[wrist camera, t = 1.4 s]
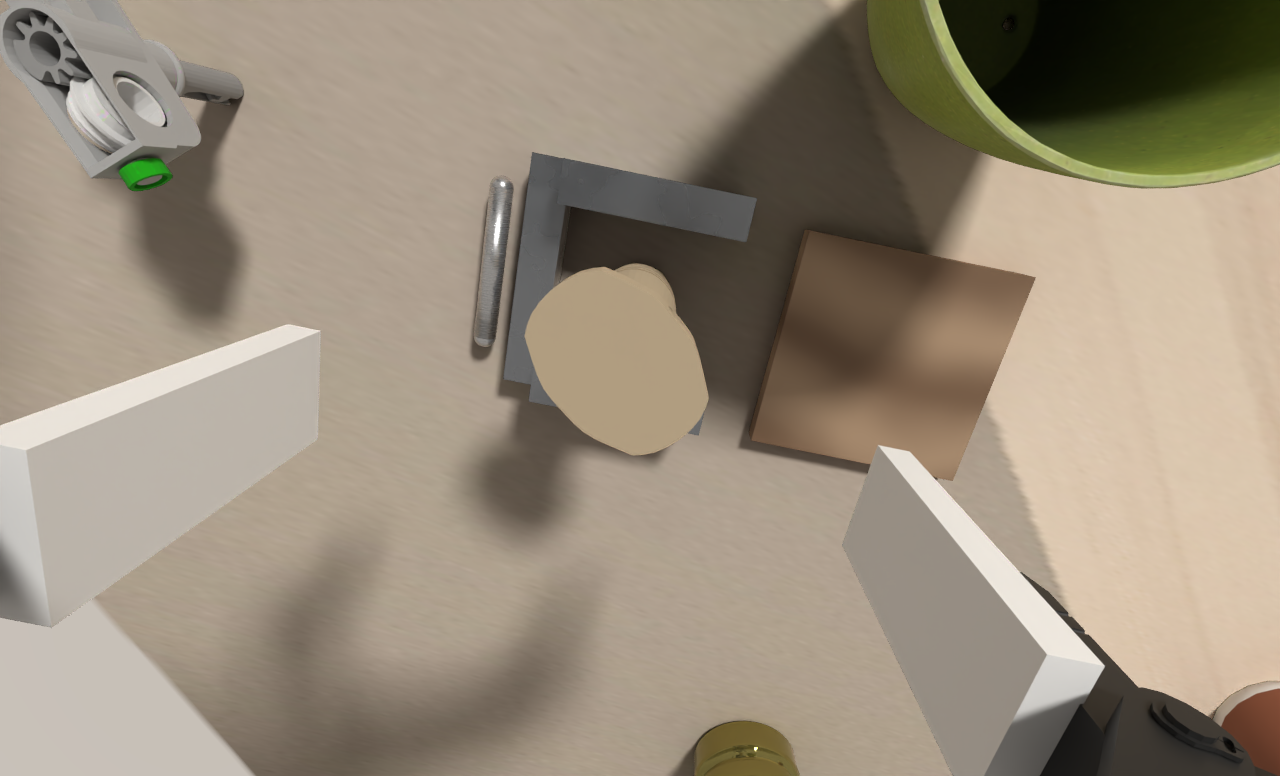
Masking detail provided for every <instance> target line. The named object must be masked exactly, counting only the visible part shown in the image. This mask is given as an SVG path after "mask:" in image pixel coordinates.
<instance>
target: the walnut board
mask: <svg viewBox="0 0 1280 776" xmlns="http://www.w3.org/2000/svg"><path fill="white" fill-rule="evenodd" d="M1035 278H1036V277H1032V276H1027V275H1023V274H1019V273H1014V272H1009V271H1004V270H999V269H995V268H990V267H985V266H980V265H975V264H970V263H966V262H961V261H956V260H951V259H946V258H941V257H936V256H932V255H927V254H922V253H917V252H912V251H907V250H903V249H898V248H893V247H888V246H883V245H878V244H874V243H869V242H864V241H859V240H854V239H849V238H844V237H840V236H835V235H830V234H825V233H820V232H815V231H811V230H806V229H805V231H804V234H803V238H802V242H801V245H800V249H799V253H798V256H797V260H796V263H795V267H794V271H793V274H792V278H791V281H790V285H789V289H788V292H787V296H786V299H785V303H784V307H783V310H782V314H781V318H780V321H779V325H778V328H777V332H776V336H775V339H774V343H773V346H772V350H771V354H770V357H769V361H768V365H767V368H766V372H765V375H764V379H763V383H762V386H761V390H760V393H759V397H758V401H757V404H756V408H755V412H754V415H753V419H752V422H751V426H750V430H749V435H750V438H751V441H756V442H761V443H766V444H771V445H776V446H781V447H786V448H791V449H796V450H801V451H806V452H811V453H816V454H821V455H826V456H831V457H836V458H841V459H846V460H851V461H856V462H861V463H866V464H871V463H872V460H873V457H874V454H875V451H876V449H877V446H878V445H880V446H885V447H890V448H895V449H900V450H905V451H910V452H911V453H912V455H913V456H914V457H915V458H916V459H917V460H918V461H919V462H920V463H921V464H922V466H923V467H924V468H925V469H926V470H927V471H928V472H929V473H930V474H931V475H932V477H936V478H941V479H946V480H951V481H953V479H954V476H955V474H956V471H957V469H958V467H959V464H960V462H961V459H962V457H963V454H964V452H965V449H966V447H967V445H968V442H969V440H970V437H971V435H972V432H973V430H974V427H975V425H976V422H977V420H978V418H979V415H980V413H981V410H982V408H983V405H984V403H985V400H986V398H987V396H988V393H989V391H990V388H991V386H992V383H993V381H994V378H995V376H996V374H997V371H998V369H999V366H1000V364H1001V361H1002V359H1003V356H1004V354H1005V352H1006V349H1007V347H1008V344H1009V342H1010V339H1011V337H1012V334H1013V332H1014V330H1015V327H1016V325H1017V322H1018V320H1019V317H1020V315H1021V312H1022V310H1023V308H1024V305H1025V303H1026V300H1027V298H1028V295H1029V293H1030V290H1031V288H1032V286H1033V283H1034V281H1035Z"/></svg>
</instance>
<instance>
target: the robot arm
mask: <svg viewBox="0 0 1280 776" xmlns="http://www.w3.org/2000/svg"><path fill="white" fill-rule="evenodd" d="M320 343H321V331H319V330H314V329H309V328H304V327H299V326H294V325H289V324H287V325H284V326H281V327H278V328H275V329H273V330H270V331H267V332H264V333H261V334H258V335H256V336H253V337H250V338H247V339H244V340H241V341H239V342H236V343H233V344H230V345H227V346H224V347H221V348H219V349H216V350H213V351H210V352H207V353H204V354H202V355H199V356H196V357H193V358H190V359H187V360H185V361H182V362H179V363H176V364H173V365H170V366H168V367H165V368H162V369H159V370H156V371H153V372H150V373H148V374H145V375H142V376H139V377H136V378H133V379H131V380H128V381H125V382H122V383H119V384H116V385H114V386H111V387H108V388H105V389H102V390H99V391H96V392H94V393H91V394H88V395H85V396H82V397H79V398H77V399H74V400H71V401H68V402H65V403H62V404H60V405H57V406H54V407H51V408H48V409H45V410H43V411H40V412H37V413H34V414H31V415H28V416H25V417H23V418H20V419H17V420H14V421H11V422H8V423H6V424H3V425H0V618H5V619H10V620H15V621H21V622H26V623H31V624H36V625H41V626H46V627H53V626H55V625H56V624H57V623H59V622H60V621H62V620H63V619H64V618H66V617H67V616H69V615H70V614H71V613H73V612H74V611H76V610H77V609H78V608H80V607H81V606H83V605H84V604H86V603H87V602H88V601H90V600H91V599H93V598H94V597H96V596H97V595H98V594H100V593H101V592H103V591H104V590H105V589H107V588H108V587H110V586H111V585H112V584H114V583H115V582H117V581H118V580H120V579H121V578H122V577H124V576H125V575H127V574H128V573H129V572H131V571H132V570H134V569H135V568H137V567H138V566H139V565H141V564H142V563H144V562H145V561H146V560H148V559H149V558H151V557H152V556H153V555H155V554H156V553H158V552H159V551H161V550H162V549H163V548H165V547H166V546H168V545H169V544H170V543H172V542H173V541H175V540H176V539H177V538H179V537H180V536H182V535H183V534H185V533H186V532H187V531H189V530H190V529H192V528H193V527H194V526H196V525H197V524H199V523H200V522H202V521H203V520H204V519H206V518H207V517H209V516H210V515H211V514H213V513H214V512H216V511H217V510H218V509H220V508H221V507H223V506H224V505H226V504H227V503H228V502H230V501H231V500H233V499H234V498H235V497H237V496H238V495H240V494H241V493H243V492H244V491H245V490H247V489H248V488H250V487H251V486H252V485H254V484H255V483H257V482H258V481H259V480H261V479H262V478H264V477H265V476H267V475H268V474H269V473H271V472H272V471H274V470H275V469H276V468H278V467H279V466H281V465H282V464H283V463H285V462H286V461H288V460H289V459H291V458H292V457H293V456H295V455H296V454H298V453H299V452H300V451H302V450H303V449H305V448H306V447H308V446H309V445H310V444H312V443H313V442H315V441H316V440H317V439H318V414H319V379H320ZM842 546H843V548H844V550H845V552H846V554H847V556H848V559H849V561H850V563H851V565H852V567H853V569H854V571H855V573H856V575H857V577H858V579H859V581H860V584H861V586H862V588H863V590H864V592H865V594H866V596H867V598H868V600H869V602H870V604H871V606H872V609H873V611H874V613H875V615H876V617H877V619H878V621H879V623H880V625H881V627H882V629H883V631H884V634H885V636H886V638H887V640H888V642H889V644H890V646H891V648H892V650H893V652H894V654H895V656H896V659H897V661H898V663H899V665H900V667H901V669H902V671H903V673H904V675H905V677H906V679H907V681H908V683H909V686H910V688H911V690H912V692H913V694H914V696H915V698H916V700H917V702H918V704H919V706H920V708H921V711H922V713H923V715H924V717H925V719H926V721H927V723H928V725H929V727H930V729H931V731H932V733H933V736H934V738H935V740H936V742H937V744H938V746H939V748H940V750H941V752H942V754H943V756H944V758H945V761H946V763H947V765H948V767H949V769H950V771H951V773H952V775H953V776H1278V775H1275V774H1273V773H1270V772H1268V771H1265V770H1263V769H1261V768H1258V767H1256V766H1254V764H1253V762H1252V760H1251V758H1250V756H1249V754H1248V752H1247V751H1246V750H1245V749H1244V748H1243V747H1242V746H1241V745H1240V743H1239V742H1238V741H1237V740H1236V739H1235V738H1234V737H1233V736H1232V735H1231V734H1230V733H1228V732H1227V731H1226V730H1225V729H1223V728H1222V727H1221V726H1220V725H1218V724H1217V723H1216V722H1215V721H1213V720H1212V719H1211V718H1209V717H1208V716H1206V715H1204V714H1203V713H1201V712H1199V711H1198V710H1196V709H1194V708H1193V707H1191V706H1190V705H1188V704H1186V703H1184V702H1182V701H1180V700H1178V699H1175V698H1173V697H1171V696H1169V695H1167V694H1164V693H1162V692H1158V691H1154V690H1151V689H1147V688H1138V687H1137V686H1136V685H1135V684H1134V682H1133V681H1132V680H1131V679H1130V678H1129V677H1128V676H1127V675H1126V674H1125V673H1124V672H1123V671H1122V670H1121V669H1120V668H1119V666H1118V665H1117V664H1116V663H1115V662H1114V661H1113V660H1112V659H1111V658H1110V657H1109V656H1108V655H1107V654H1106V653H1105V652H1104V650H1103V649H1102V648H1101V647H1100V646H1099V645H1098V644H1097V643H1096V642H1095V641H1094V640H1093V639H1092V638H1091V637H1090V636H1089V635H1087V634H1085V633H1084V632H1085V630H1084V629H1083V628H1082V627H1081V626H1080V625H1079V624H1078V623H1077V622H1076V621H1075V620H1074V618H1073V617H1069V616H1068V612H1067V611H1066V610H1065V609H1064V608H1063V607H1062V606H1061V605H1060V604H1059V602H1058V601H1057V600H1056V599H1055V598H1054V597H1053V596H1052V595H1051V594H1050V593H1049V592H1048V591H1047V590H1045V589H1044V588H1042V587H1041V586H1040V585H1038V584H1037V583H1036V582H1034V581H1033V580H1031V579H1030V578H1029V577H1027V576H1026V575H1025V574H1023V573H1022V572H1019V571H1018V570H1017V569H1016V568H1015V567H1014V566H1013V564H1012V563H1011V562H1010V561H1009V560H1008V559H1007V558H1006V557H1005V556H1004V555H1003V553H1002V552H1001V551H1000V550H999V549H998V548H997V547H996V546H995V545H994V544H993V542H992V541H991V540H990V539H989V538H988V537H987V536H986V535H985V534H984V533H983V531H982V530H981V529H980V528H979V527H978V526H977V525H976V524H975V523H974V522H973V520H972V519H971V518H970V517H969V516H968V515H967V514H966V513H965V512H964V511H963V509H962V508H961V507H960V506H959V505H958V504H957V503H956V502H955V501H954V500H953V498H952V497H951V496H950V495H949V494H948V493H947V492H946V491H945V490H944V489H943V488H942V486H941V485H940V484H939V483H938V482H937V481H936V480H935V479H934V478H933V477H932V475H931V474H930V473H929V472H928V471H927V470H926V469H925V468H924V467H923V466H922V464H921V463H920V462H919V461H918V460H917V459H916V458H915V457H914V456H913V455H912V453H911V452H910V451H905V450H900V449H895V448H890V447H885V446H880V445H878V446H877V449H876V451H875V454H874V457H873V460H872V463H871V465H870V468H869V471H868V474H867V477H866V479H865V482H864V485H863V488H862V491H861V493H860V496H859V499H858V502H857V505H856V507H855V510H854V513H853V516H852V519H851V521H850V524H849V527H848V530H847V533H846V535H845V538H844V541H843V544H842Z"/></svg>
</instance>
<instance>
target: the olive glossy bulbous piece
mask: <svg viewBox="0 0 1280 776" xmlns="http://www.w3.org/2000/svg"><path fill="white" fill-rule="evenodd" d="M694 776H800V774H799V771H798V769H797V766H796V761H795V756H794V752H793V749H792V747H791V745H790V743H789V742H788V740H787V739H786V738H785V737H784V736H783V735H782V734H781V733H779V732H778V731H777V730H775V729H773V728H771V727H769V726H767V725H764V724H761V723H757V722H750V721H737V722H731V723H726V724H723V725H720V726H718V727H716V728H714V729H712V730H711V731H709V732H708V733H707V734H706V735H705V736H704V737H703V738H702V739H701V740H700V741H699V743H698V745H697V747H696V749H695V752H694Z"/></svg>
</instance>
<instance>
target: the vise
mask: <svg viewBox="0 0 1280 776" xmlns="http://www.w3.org/2000/svg"><path fill="white" fill-rule="evenodd" d="M513 191H514V187H513V183H512V182H511V180H510V179H509V178H507V177H505V176H497V177H495V178H494V179H493V180H492V181H491V183H490V190H489V199H488V208H487V217H486V227H485V236H484V245H483V254H482V264H481V273H480V282H479V291H478V301H477V310H476V319H475V329H474V340H475V342H476V343H477V344H478V345H480V346H482V347H488V346H490V345H492V344H493V343H494V342H495V339H496V332H497V324H498V316H499V308H500V299H501V291H502V283H503V274H504V266H505V258H506V249H507V241H508V233H509V225H510V216H511V208H512V200H513ZM756 201H757V198H753V197H748V196H744V195H739V194H734V193H729V192H724V191H719V190H715V189H710V188H705V187H700V186H695V185H691V184H686V183H681V182H676V181H671V180H666V179H662V178H657V177H652V176H647V175H642V174H637V173H633V172H628V171H623V170H618V169H613V168H608V167H604V166H599V165H594V164H589V163H584V162H580V161H575V160H570V159H565V158H564V159H563V158H558V157H553V156H548V155H543V154H538V153H534V152H532V158H531V166H530V174H529V182H528V190H527V197H526V205H525V213H524V221H523V229H522V237H521V244H520V252H519V260H518V268H517V276H516V283H515V291H514V299H513V307H512V315H511V323H510V330H509V338H508V346H507V354H506V362H505V370H504V377H503V379H505V380H510V381H515V382H520V383H525V384H530V385H531V388H530V395H529V402H534V403H539V404H544V405H549V406H554V407H558V406H557V405H556V404H555V403H554V402H553V401H552V400H551V398H550V397H549V396H548V394H547V393H546V392H545V390H544V389H543V387H542V385H541V383H540V381H539V378H538V376H537V374H536V371H535V368H534V365H533V362H532V359H531V356H530V352H529V349H528V346H527V343H526V339H525V332H526V327H527V324H528V321H529V319H530V316H531V314H532V312H533V311H534V309H535V308H536V306H537V305H538V303H539V302H540V301H541V300H542V299H543V298H544V297H545V296H546V295H547V294H548V293H549V292H550V291H551V290H552V289H553V288H554V287H555V286H557V285H558V284H560V278H561V271H562V264H563V258H564V251H565V245H566V238H567V231H568V225H569V218H570V212H571V206H572V207H577V208H582V209H587V210H592V211H596V212H601V213H606V214H611V215H616V216H621V217H626V218H630V219H635V220H640V221H645V222H650V223H655V224H660V225H664V226H669V227H674V228H679V229H684V230H689V231H694V232H698V233H703V234H708V235H713V236H718V237H723V238H728V239H732V240H737V241H742V242H746V241H747V237H748V233H749V229H750V225H751V221H752V217H753V213H754V209H755V205H756ZM704 411H705V410H704ZM703 415H704V412H703V414H702V416H701V418H700V420H699V421H698V422H697V423H696V425H695V426H694V427H693V428H692V429H691V430H690V431H689V432H688V433H689V434H694V435H699V431H700V427H701V423H702V419H703Z"/></svg>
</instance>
